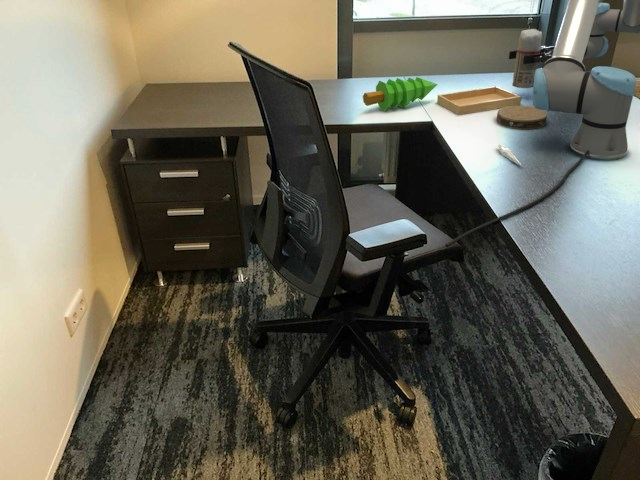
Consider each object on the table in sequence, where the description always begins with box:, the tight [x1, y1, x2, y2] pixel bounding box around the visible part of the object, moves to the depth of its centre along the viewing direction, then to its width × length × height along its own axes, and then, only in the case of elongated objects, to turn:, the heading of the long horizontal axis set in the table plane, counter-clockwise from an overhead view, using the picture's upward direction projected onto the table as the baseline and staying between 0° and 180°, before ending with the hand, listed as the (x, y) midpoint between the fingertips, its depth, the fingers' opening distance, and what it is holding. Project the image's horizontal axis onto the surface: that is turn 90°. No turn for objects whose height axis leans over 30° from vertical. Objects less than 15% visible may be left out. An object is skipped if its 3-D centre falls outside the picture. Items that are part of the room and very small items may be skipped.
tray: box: [436, 85, 522, 116], centre depth 206 cm, size 26×16×3 cm, turn 108°
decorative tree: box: [362, 76, 439, 112], centre depth 206 cm, size 11×12×30 cm
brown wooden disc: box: [496, 105, 548, 130], centre depth 187 cm, size 16×16×3 cm
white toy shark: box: [497, 144, 523, 167], centre depth 161 cm, size 15×3×2 cm, turn 9°
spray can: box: [511, 28, 543, 89], centre depth 204 cm, size 8×8×20 cm
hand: (516, 57), depth 202 cm, fingers closed on spray can, 8 cm apart
